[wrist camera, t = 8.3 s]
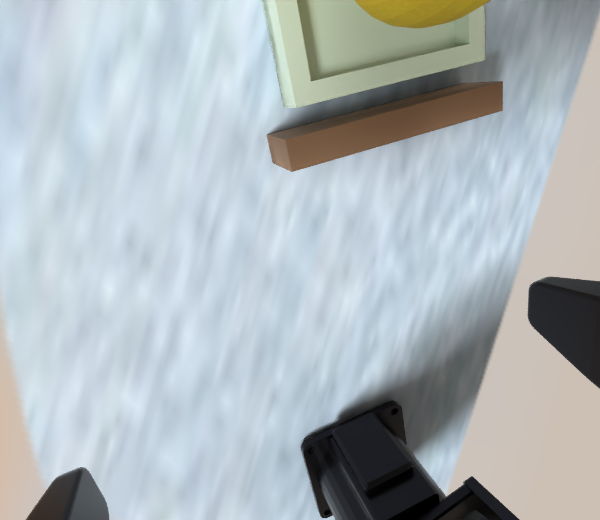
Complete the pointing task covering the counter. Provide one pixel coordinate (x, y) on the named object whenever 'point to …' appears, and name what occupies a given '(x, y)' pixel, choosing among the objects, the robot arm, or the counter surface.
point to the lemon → (419, 11)
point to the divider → (383, 124)
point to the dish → (359, 48)
